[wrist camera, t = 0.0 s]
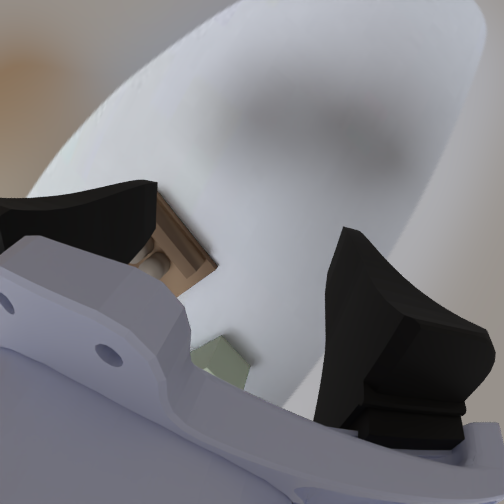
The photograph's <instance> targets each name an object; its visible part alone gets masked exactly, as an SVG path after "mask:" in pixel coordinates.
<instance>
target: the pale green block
mask: <svg viewBox="0 0 504 504" xmlns="http://www.w3.org/2000/svg"><path fill="white" fill-rule="evenodd" d="M190 355H191V361H192V362H193V364H195V365H196V366H198V367H199V368H201V369H203V370H205V371H207V372H209V373H211V374H212V375H214V376H216V377H218V378H220V379H222V380H224V381H226V382H228V383H230V384H232V385H234V386H236V387H238V388H240V389H242V390H244V386H245V383H246V379H247V376H248V372H249V369H250V365H249V364H248V363H247V362H246V361H245V360H244V359H243V358H242V357H241V356H240V355H239V354H238V353H237V352H236V351H235V349H234V348H233V347H232V346H231V345H230V344H229V343H228V342H227V341H226V340H225V339H224V337H223V336H222V335H221V336H219V337H218V338H216V339H214V340H212V341H210V342H209V343H207V344H205V345H203V346H201V347H199V348H197V349H196V350H194V351H192V352H190Z"/></svg>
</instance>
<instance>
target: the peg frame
mask: <svg viewBox="0 0 504 504" xmlns="http://www.w3.org/2000/svg"><path fill="white" fill-rule="evenodd" d="M128 265H130V266H133V267H136V268H138V269H140V270H141V271H143V272H145V273H147V274H149V275H151V276H152V277H154V278H156V279H158V280H160V281H162V282H163V283H164V284H165V285H166V286H167V287H168V288H169V290H170V291H171V292H172V293H173V294H174V295H175V297H178V296H179V295H181V294H182V293H183V292H185V291H186V290H188V289H189V288H191V287H192V286H193V285H195V284H196V283H198V282H199V281H200V280H202V279H203V278H205V277H206V276H208V275H209V274H210V273H212V272H213V271H215V270H216V269H217V267H218V266H217V265H216V264H215V263H214V261H213V260H212V259H211V258H210V256H209V255H208V254H207V253H206V252H205V250H204V249H203V248H202V247H201V245H200V244H199V243H198V242H197V240H196V239H195V238H194V237H193V236H192V234H191V233H190V232H189V231H188V229H187V228H186V227H185V226H184V224H183V223H182V222H181V221H180V219H179V218H178V217H177V216H176V214H175V213H174V212H173V210H172V209H171V208H170V207H169V205H168V204H167V203H166V202H165V200H164V199H163V198H162V197H161V195H160V194H159V193H158V191H157V209H156V229H155V231H154V232H153V234H152V236H151V237H150V239H149V240H148V242H147V243H146V245H145V246H144V247H143V248H142V250H141V251H140V252H139V253H138V254H137V255H136V256H135V257H134V259H133V260H132V261H131V262H130V263H129V264H128Z"/></svg>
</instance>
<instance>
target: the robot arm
mask: <svg viewBox="0 0 504 504" xmlns="http://www.w3.org/2000/svg"><path fill="white" fill-rule="evenodd" d="M157 184H158V182H153V181H148V180H133V181H128V182H123V183H118V184H114V185H109V186H105V187H101V188H96V189H91V190H87V191H82V192H77V193H71V194H65V195H58V196H49V197H37V198H0V504H497V503H499V502H500V501H502V500H504V444H503V439H502V435H501V430H500V426H499V423H497V422H473V423H469V424H466V425H464V426H463V425H462V420H461V416H463V415H464V414H465V413H466V406H465V400H466V399H467V398H468V397H469V396H470V395H471V394H472V393H473V391H475V390H476V388H477V387H478V386H479V385H480V384H481V383H482V382H483V381H484V379H485V378H486V377H487V375H488V374H489V373H490V371H491V369H492V367H493V364H494V362H495V353H496V352H495V350H494V347H493V344H492V341H491V339H490V337H489V334H488V332H487V330H486V329H484V328H482V327H480V326H477V325H476V324H473V323H471V322H469V321H467V320H465V319H463V318H461V317H459V316H458V315H456V314H454V313H452V312H451V311H449V310H447V309H445V308H444V307H442V306H441V305H439V304H438V303H436V302H435V301H433V300H432V299H430V298H429V297H428V296H426V295H425V294H423V293H422V292H421V291H420V290H418V289H417V288H415V287H414V286H413V285H412V284H411V283H410V282H409V281H407V280H406V279H405V278H404V277H403V276H402V275H401V274H400V273H399V272H398V271H397V270H396V269H395V268H394V267H393V266H392V265H391V264H390V263H389V262H388V261H387V260H386V259H385V258H384V257H383V256H382V255H381V254H380V252H379V251H378V250H377V249H376V248H375V247H374V246H373V244H372V243H371V242H370V241H369V240H368V239H367V238H366V237H365V236H364V235H363V234H362V233H361V232H360V231H358V230H354V229H351V228H347V227H344V226H343V229H342V232H341V235H340V238H339V241H338V244H337V247H336V250H335V253H334V256H333V258H332V261H331V264H330V267H329V270H328V273H327V281H326V290H325V326H326V343H325V355H324V363H323V370H322V377H321V384H320V390H319V395H318V400H317V405H316V410H315V415H314V420H313V421H311V420H308V419H306V418H304V417H302V416H299V415H297V414H295V413H292V412H290V411H288V410H285V409H283V408H281V407H278V406H276V405H274V404H272V403H270V402H267V401H265V400H263V399H261V398H259V397H257V396H254V395H252V394H250V393H248V392H246V391H244V390H242V389H240V388H238V387H236V386H234V385H232V384H230V383H228V382H226V381H224V380H222V379H220V378H218V377H216V376H214V375H212V374H211V373H209V372H207V371H205V370H203V369H201V368H199V367H198V366H196V365H195V364H193V362H192V361H191V355H190V341H191V329H190V325H189V322H188V318H187V314H186V311H185V307H184V306H183V305H182V303H181V302H180V301H179V300H178V299H177V298H176V297H175V295H174V294H173V293H172V292H171V291H170V290H169V288H168V287H167V286H166V285H165V284H164V283H163V282H162V281H160V280H158V279H156V278H154V277H152V276H151V275H149V274H147V273H145V272H143V271H141V270H140V269H138V268H136V267H133V266H130V265H128V264H129V263H130V262H131V261H132V260H133V259H134V257H135V256H136V255H137V254H138V253H139V252H140V251H141V250H142V248H143V247H144V246H145V245H146V243H147V242H148V240H149V239H150V237H151V236H152V234H153V232H154V231H155V229H156V209H157Z"/></svg>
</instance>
